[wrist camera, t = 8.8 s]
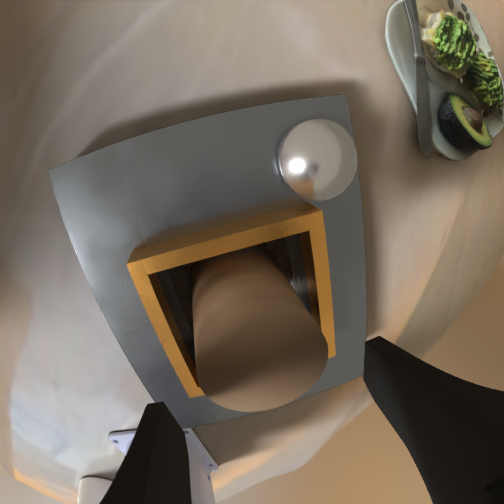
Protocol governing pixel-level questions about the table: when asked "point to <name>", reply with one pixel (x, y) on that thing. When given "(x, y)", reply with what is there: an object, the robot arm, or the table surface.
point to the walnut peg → (252, 332)
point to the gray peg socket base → (221, 232)
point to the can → (92, 490)
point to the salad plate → (446, 75)
